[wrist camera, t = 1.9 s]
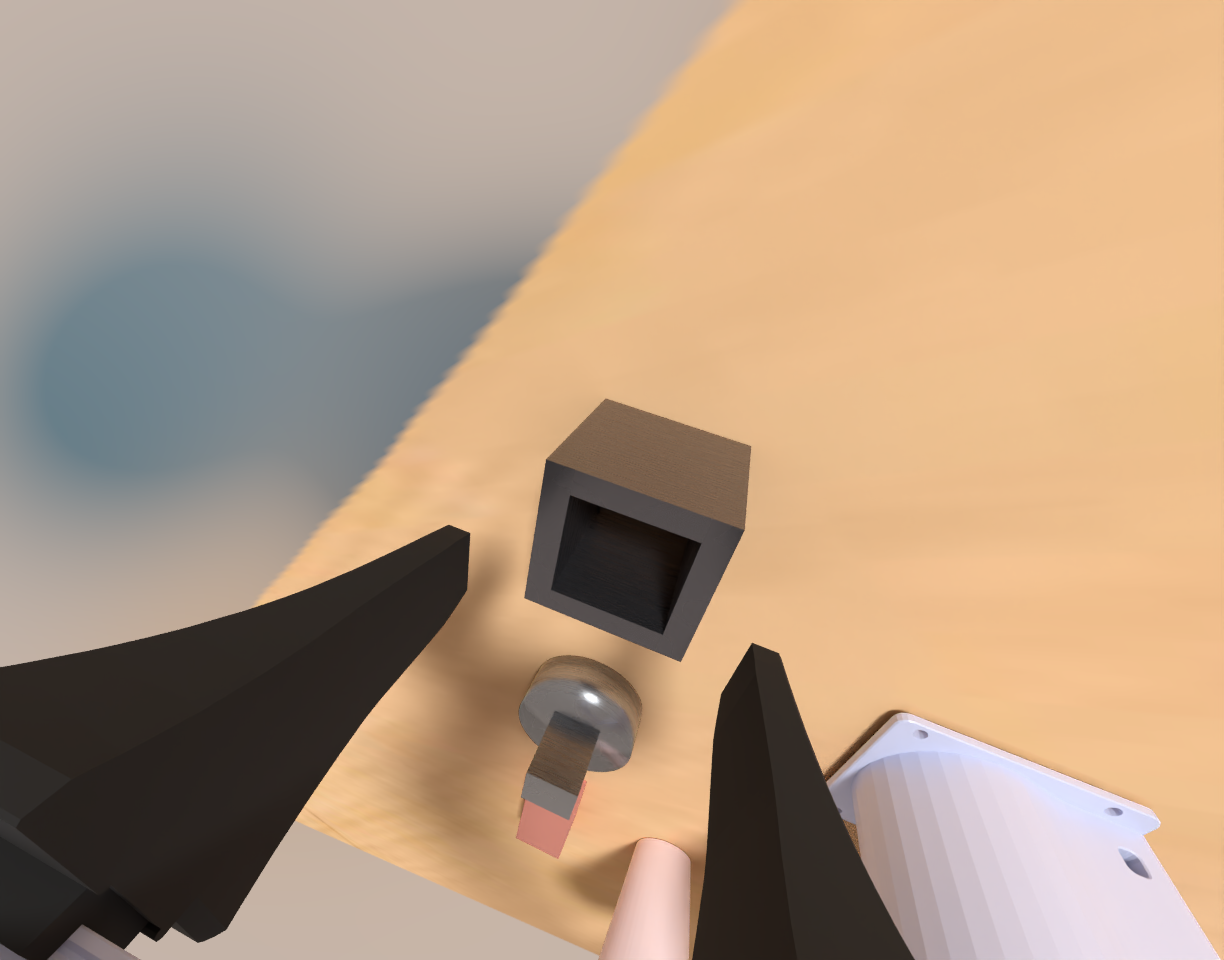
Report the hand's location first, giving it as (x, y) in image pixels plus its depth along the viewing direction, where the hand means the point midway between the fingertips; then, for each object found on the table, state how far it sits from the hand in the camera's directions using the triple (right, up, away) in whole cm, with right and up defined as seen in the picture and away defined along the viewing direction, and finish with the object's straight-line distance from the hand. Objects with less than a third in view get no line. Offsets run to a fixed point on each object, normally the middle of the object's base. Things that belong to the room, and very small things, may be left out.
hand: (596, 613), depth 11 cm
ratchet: (-2, -13, +16) cm, 21 cm away
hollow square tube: (+2, +3, +6) cm, 7 cm away
